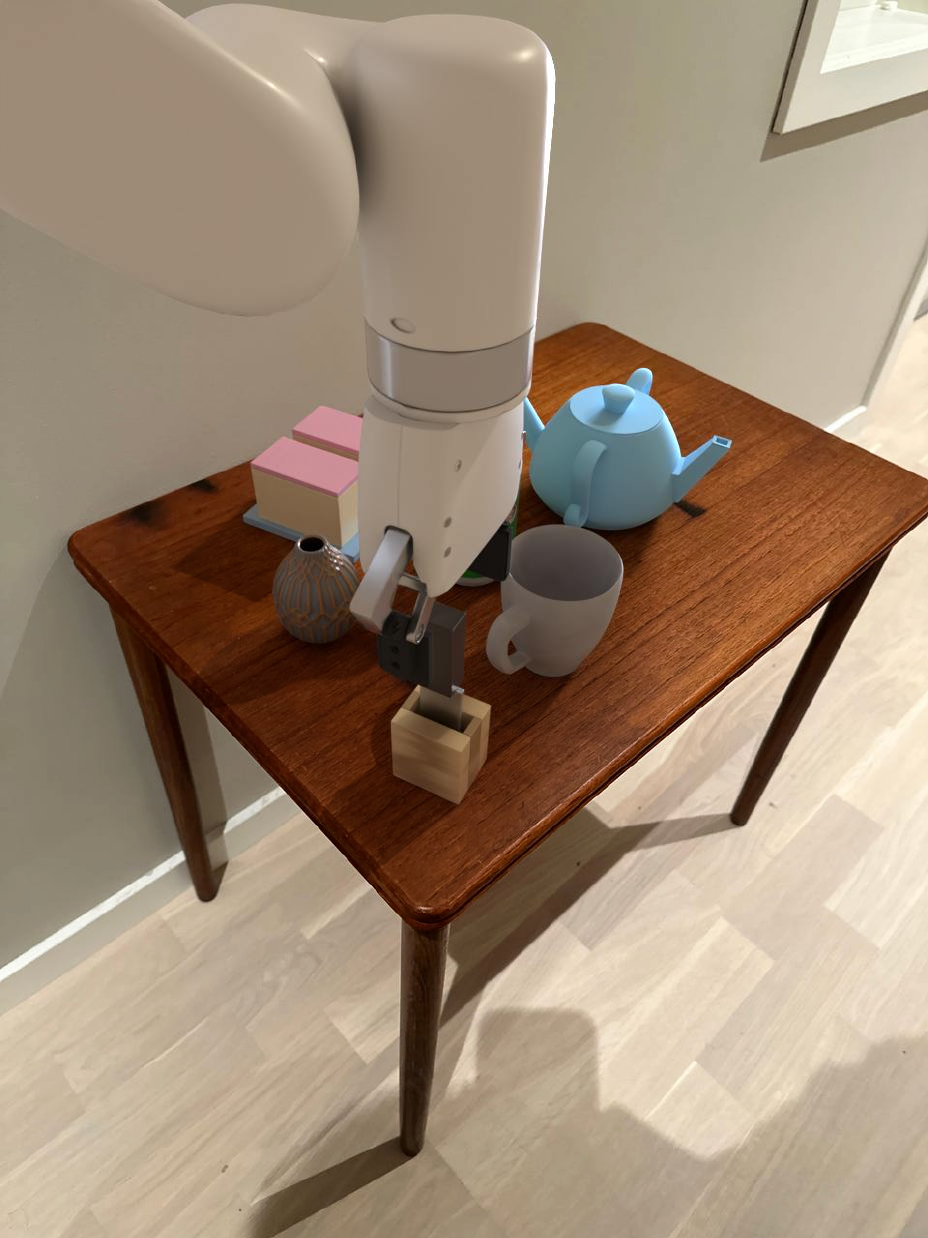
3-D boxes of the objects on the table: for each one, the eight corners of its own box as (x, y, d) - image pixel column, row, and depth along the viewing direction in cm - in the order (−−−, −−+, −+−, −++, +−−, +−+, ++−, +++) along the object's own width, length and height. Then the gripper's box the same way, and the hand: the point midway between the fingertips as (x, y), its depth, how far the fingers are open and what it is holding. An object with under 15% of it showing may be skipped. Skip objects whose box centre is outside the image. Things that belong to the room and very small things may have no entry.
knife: (415, 768, 61) (413, 616, 51) (427, 750, 62) (428, 597, 52) (453, 785, 60) (458, 634, 50) (464, 766, 61) (473, 614, 51)
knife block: (392, 775, 61) (390, 721, 56) (423, 731, 63) (423, 676, 59) (458, 805, 59) (461, 752, 55) (486, 759, 62) (491, 705, 58)
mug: (542, 598, 74) (553, 508, 67) (627, 651, 70) (648, 560, 63) (444, 674, 67) (446, 582, 61) (531, 737, 63) (544, 646, 57)
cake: (243, 522, 80) (232, 460, 75) (317, 458, 88) (310, 398, 83) (353, 564, 76) (349, 501, 72) (420, 493, 84) (420, 432, 79)
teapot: (619, 429, 93) (637, 330, 85) (715, 522, 82) (745, 419, 74) (490, 459, 89) (496, 358, 81) (574, 562, 78) (590, 457, 70)
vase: (302, 589, 74) (291, 506, 68) (377, 609, 72) (372, 527, 66) (262, 643, 69) (246, 560, 63) (341, 666, 68) (333, 583, 62)
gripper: (463, 265, 46) (458, 521, 58) (266, 420, 35) (310, 697, 47) (597, 296, 43) (562, 556, 55) (430, 472, 32) (432, 750, 44)
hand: (447, 620), depth 51 cm, fingers open, 9 cm apart
